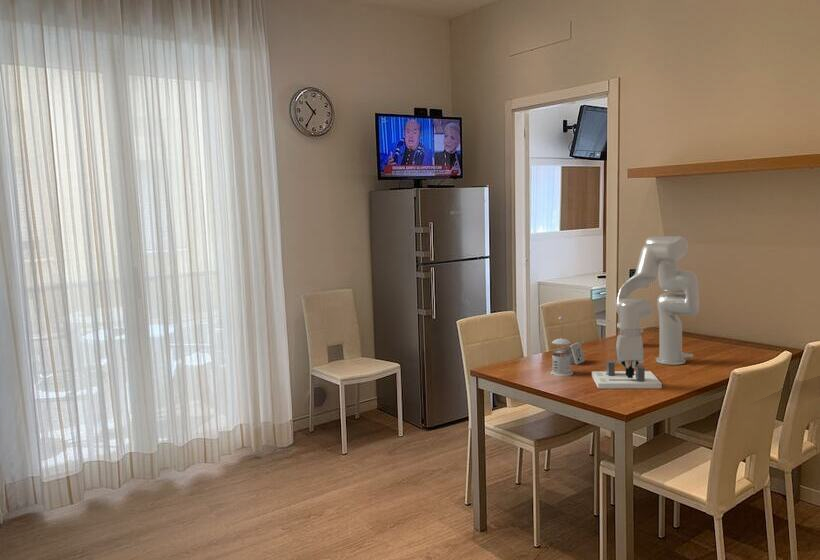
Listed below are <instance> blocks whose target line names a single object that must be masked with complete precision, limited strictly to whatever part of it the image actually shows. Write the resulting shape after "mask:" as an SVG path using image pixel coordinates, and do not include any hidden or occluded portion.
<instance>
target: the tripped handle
mask: <svg viewBox="0 0 820 560" xmlns="http://www.w3.org/2000/svg"><path fill="white" fill-rule="evenodd" d="M635 371H636V379H637V380H638V381H645V371H646V369H645V367H644V366H643V364H638V365H637V366H636V367H635Z"/></svg>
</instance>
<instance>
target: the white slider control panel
mask: <svg viewBox="0 0 820 560" xmlns="http://www.w3.org/2000/svg"><path fill="white" fill-rule="evenodd" d="M615 366H616V365H615V362H614V359H606V371H605V370H604V371H601V370H599V371H598V370H597V371H596V370H595V371H591V377H592V380H593V381H594V384H595V385H596V387H597V389H662V388H663V387H662V385H663V384H662V382H661V381H660V380H659V379H658V377H657V376H656V375H655V374H654V373H653V371H651V370H645V381H638V380H637V379H636V370H634V376H633V378H628V377H627V376H626V370H624V371H623V370H620V371H617V370H615Z"/></svg>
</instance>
